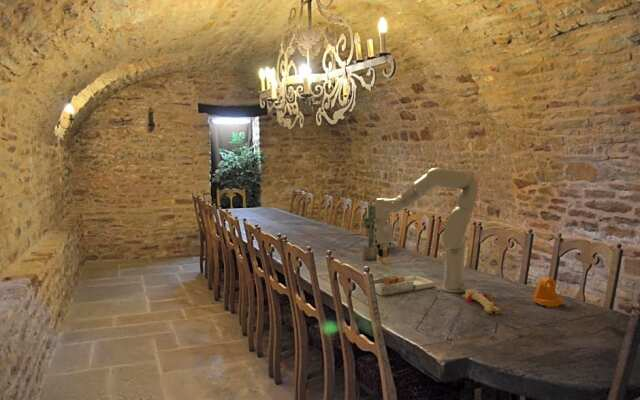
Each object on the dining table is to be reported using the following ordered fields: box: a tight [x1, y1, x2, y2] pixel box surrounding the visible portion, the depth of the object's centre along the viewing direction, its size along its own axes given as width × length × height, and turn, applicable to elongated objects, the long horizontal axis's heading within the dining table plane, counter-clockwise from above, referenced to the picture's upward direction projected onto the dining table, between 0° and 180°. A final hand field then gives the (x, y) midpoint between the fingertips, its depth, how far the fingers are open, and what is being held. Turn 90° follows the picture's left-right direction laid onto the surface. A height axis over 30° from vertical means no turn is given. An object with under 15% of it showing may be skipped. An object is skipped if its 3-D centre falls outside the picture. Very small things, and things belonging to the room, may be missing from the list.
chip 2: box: [391, 274, 406, 283], centre depth 256 cm, size 4×4×3 cm
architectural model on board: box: [362, 246, 378, 261], centre depth 322 cm, size 11×3×10 cm, turn 115°
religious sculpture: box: [363, 204, 376, 248], centre depth 356 cm, size 24×12×30 cm, turn 15°
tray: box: [404, 275, 436, 291], centre depth 262 cm, size 15×13×2 cm
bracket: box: [532, 275, 564, 308], centre depth 231 cm, size 11×7×12 cm, turn 99°
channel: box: [373, 275, 414, 297], centre depth 254 cm, size 13×20×4 cm, turn 120°
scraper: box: [376, 243, 392, 266], centre depth 267 cm, size 8×3×11 cm, turn 30°
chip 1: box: [382, 275, 396, 285], centre depth 254 cm, size 4×4×3 cm
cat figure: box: [462, 288, 501, 315], centre depth 229 cm, size 10×9×25 cm
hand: (383, 255), depth 267 cm, fingers closed on scraper, 3 cm apart
